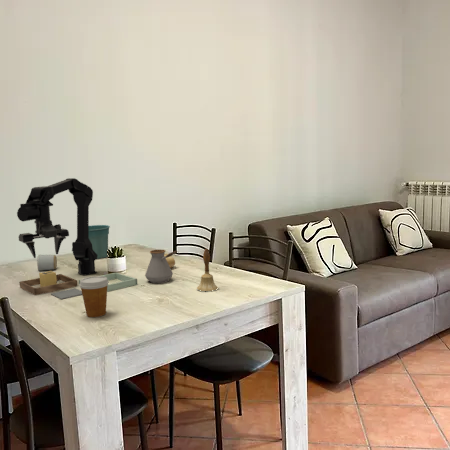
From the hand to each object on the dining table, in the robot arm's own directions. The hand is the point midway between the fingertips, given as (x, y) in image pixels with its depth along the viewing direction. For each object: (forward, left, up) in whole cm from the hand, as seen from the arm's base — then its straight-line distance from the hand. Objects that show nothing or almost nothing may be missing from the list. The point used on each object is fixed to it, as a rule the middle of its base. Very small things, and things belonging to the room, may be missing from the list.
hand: (46, 256), depth 200 cm
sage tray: (-18, +17, -13) cm, 28 cm away
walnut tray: (0, 0, -13) cm, 13 cm away
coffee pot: (-36, +32, -13) cm, 50 cm away
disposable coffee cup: (+3, +48, -13) cm, 50 cm away
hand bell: (-42, +52, -13) cm, 68 cm away
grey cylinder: (-13, -33, -13) cm, 38 cm away
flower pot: (-42, -41, -13) cm, 60 cm away
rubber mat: (-1, +17, -13) cm, 21 cm away
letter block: (0, 0, -13) cm, 13 cm away
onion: (-52, +10, -13) cm, 55 cm away
